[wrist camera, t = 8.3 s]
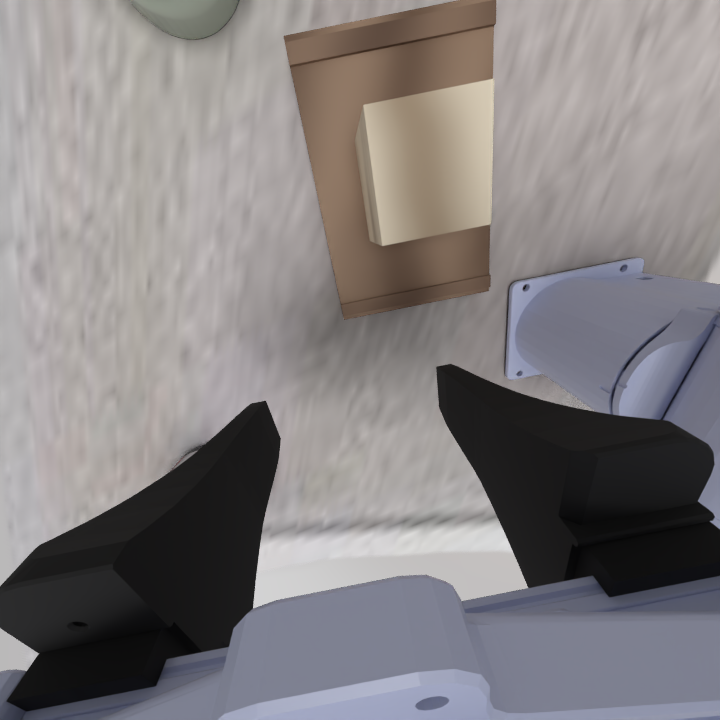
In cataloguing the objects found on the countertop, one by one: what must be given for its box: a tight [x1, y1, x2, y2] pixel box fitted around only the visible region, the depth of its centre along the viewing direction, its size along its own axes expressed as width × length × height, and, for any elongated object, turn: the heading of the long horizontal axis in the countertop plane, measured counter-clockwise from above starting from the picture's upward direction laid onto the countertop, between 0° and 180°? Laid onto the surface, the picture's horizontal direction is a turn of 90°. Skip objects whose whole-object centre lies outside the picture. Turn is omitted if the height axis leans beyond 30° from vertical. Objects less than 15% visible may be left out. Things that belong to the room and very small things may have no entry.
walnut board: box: [284, 0, 496, 320], centre depth 17 cm, size 10×14×1 cm
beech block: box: [355, 79, 494, 246], centre depth 14 cm, size 5×5×5 cm
